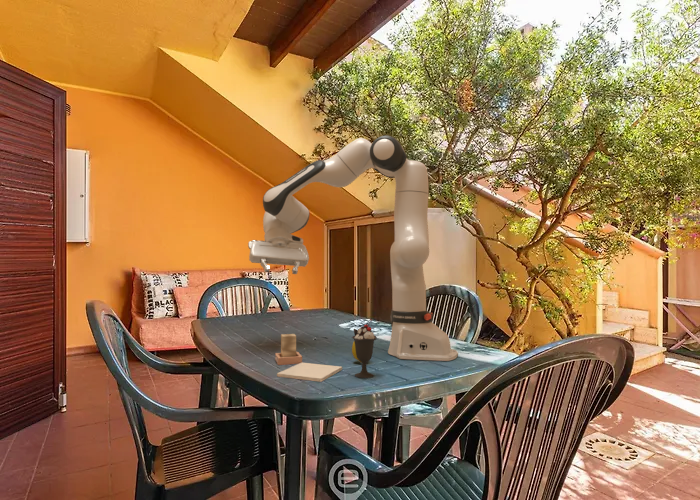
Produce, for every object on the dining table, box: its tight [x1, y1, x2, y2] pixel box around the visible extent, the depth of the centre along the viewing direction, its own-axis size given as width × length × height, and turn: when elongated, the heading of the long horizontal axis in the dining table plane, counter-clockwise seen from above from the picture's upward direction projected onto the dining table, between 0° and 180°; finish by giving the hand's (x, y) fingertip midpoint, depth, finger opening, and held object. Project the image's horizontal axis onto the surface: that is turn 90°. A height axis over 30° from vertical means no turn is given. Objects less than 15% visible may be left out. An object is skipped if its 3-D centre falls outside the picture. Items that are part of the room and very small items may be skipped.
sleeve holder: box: [274, 351, 303, 366], centre depth 125 cm, size 7×7×2 cm
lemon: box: [351, 341, 362, 364], centre depth 124 cm, size 6×6×8 cm
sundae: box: [351, 318, 378, 379], centre depth 109 cm, size 7×7×15 cm
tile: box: [276, 362, 343, 383], centre depth 112 cm, size 13×13×1 cm
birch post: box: [280, 333, 297, 357], centre depth 125 cm, size 4×4×8 cm
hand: (281, 272), depth 137 cm, fingers open, 8 cm apart
